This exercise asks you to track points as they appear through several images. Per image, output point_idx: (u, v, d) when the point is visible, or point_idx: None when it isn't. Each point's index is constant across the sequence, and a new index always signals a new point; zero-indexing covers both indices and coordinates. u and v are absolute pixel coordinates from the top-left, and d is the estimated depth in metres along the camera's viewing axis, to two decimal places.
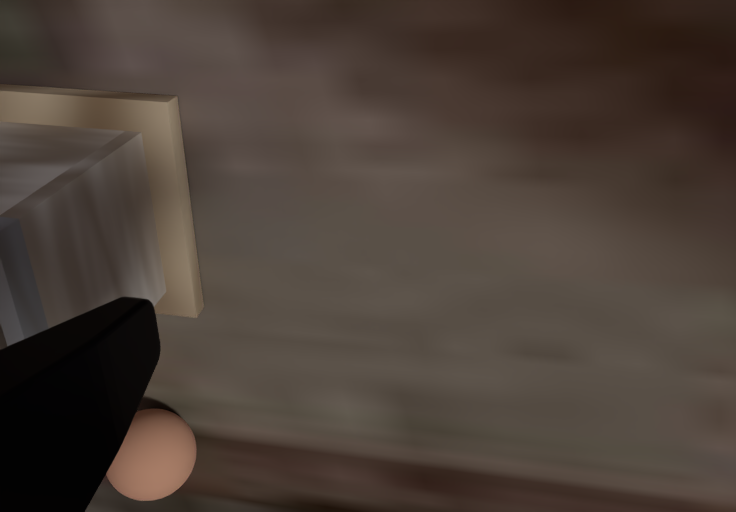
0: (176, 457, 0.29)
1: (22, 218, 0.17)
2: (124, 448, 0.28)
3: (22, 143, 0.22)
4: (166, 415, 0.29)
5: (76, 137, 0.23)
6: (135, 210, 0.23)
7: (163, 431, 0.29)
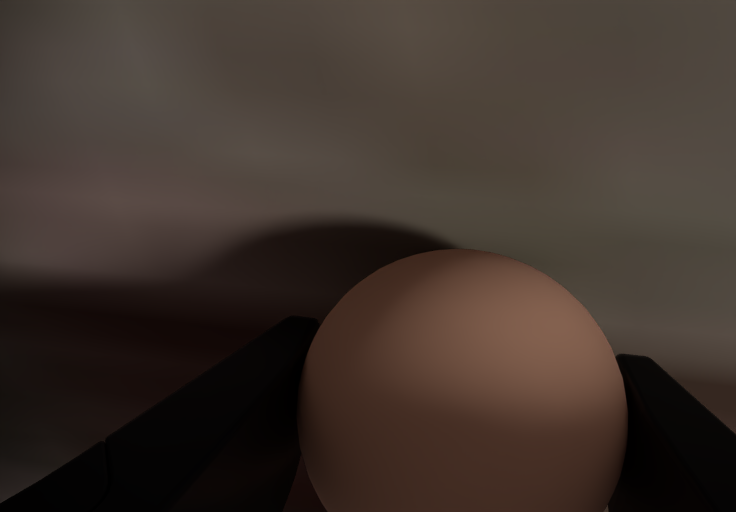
0: (616, 414, 0.07)
1: None
2: (426, 369, 0.06)
3: None
4: None
5: None
6: None
7: (558, 310, 0.07)
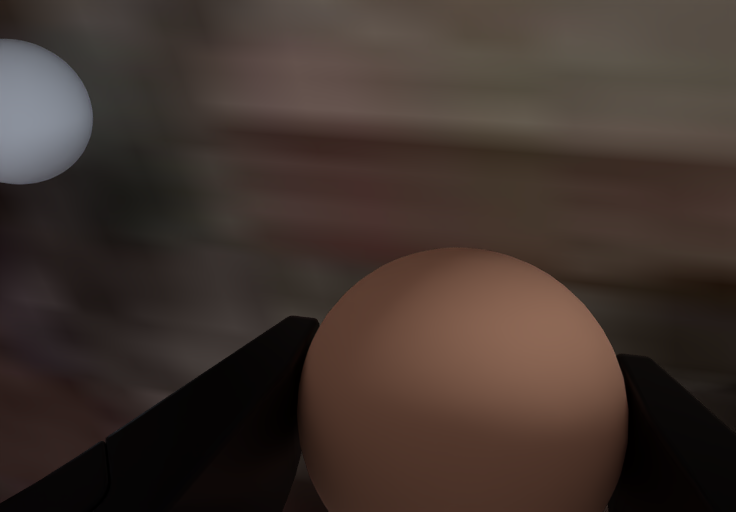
0: (617, 413, 0.07)
1: None
2: (426, 368, 0.06)
3: None
4: (525, 262, 0.08)
5: None
6: None
7: (559, 308, 0.07)
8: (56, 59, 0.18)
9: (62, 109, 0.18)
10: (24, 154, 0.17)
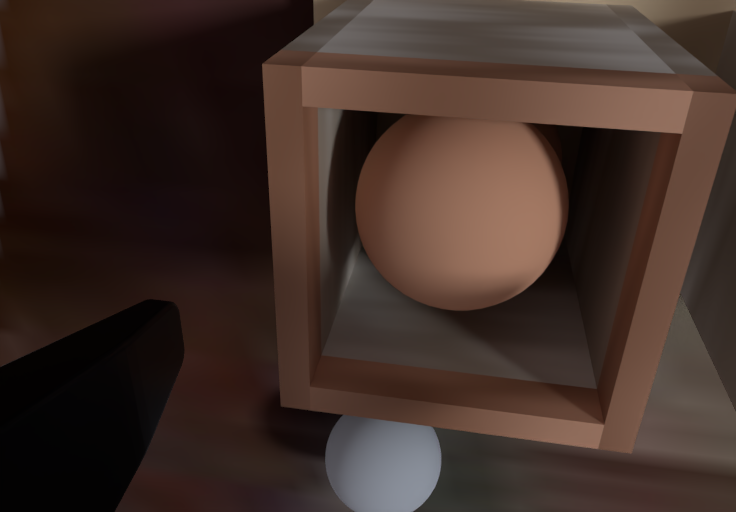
0: (552, 175, 0.11)
1: None
2: (435, 121, 0.11)
3: None
4: None
5: None
6: None
7: None
8: None
9: (436, 469, 0.22)
10: (410, 509, 0.22)
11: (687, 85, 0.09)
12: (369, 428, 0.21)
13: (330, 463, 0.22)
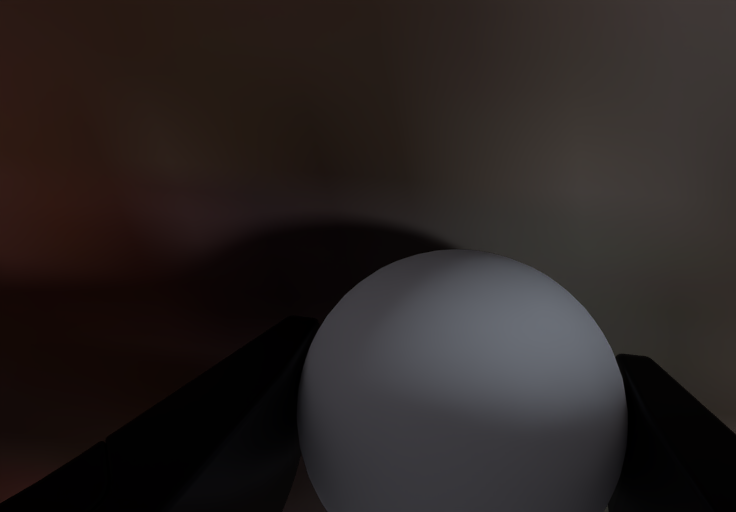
0: None
1: None
2: None
3: None
4: None
5: None
6: None
7: None
8: None
9: (625, 437, 0.07)
10: None
11: None
12: (429, 308, 0.07)
13: (307, 420, 0.07)
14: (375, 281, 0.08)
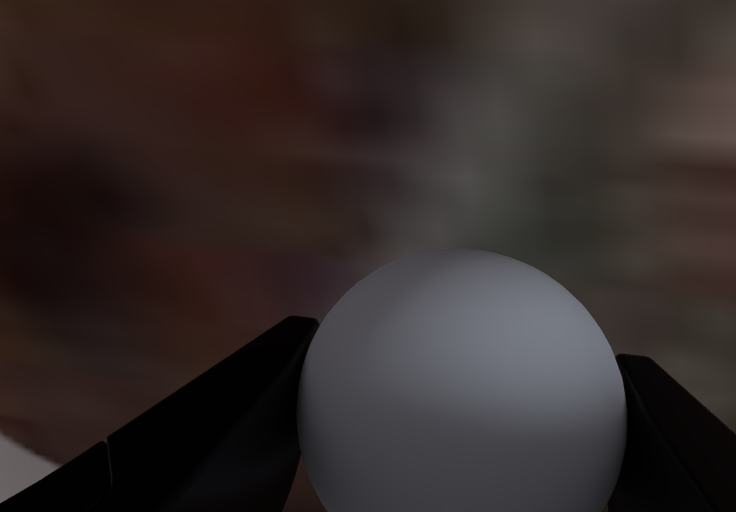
0: None
1: None
2: None
3: None
4: None
5: None
6: None
7: None
8: None
9: (624, 436, 0.07)
10: None
11: None
12: (428, 307, 0.07)
13: (308, 419, 0.07)
14: (375, 280, 0.08)
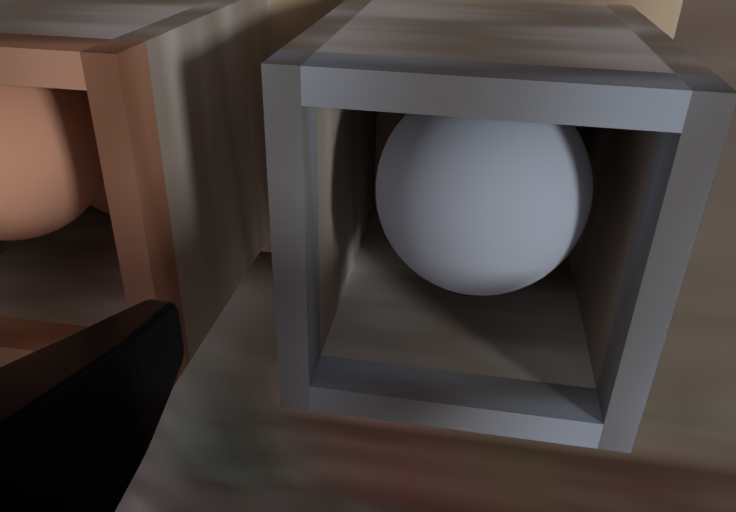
0: (39, 95, 0.13)
1: None
2: None
3: (491, 10, 0.15)
4: None
5: (553, 7, 0.15)
6: None
7: None
8: None
9: (590, 169, 0.12)
10: (559, 215, 0.11)
11: (92, 47, 0.10)
12: None
13: (396, 146, 0.11)
14: None
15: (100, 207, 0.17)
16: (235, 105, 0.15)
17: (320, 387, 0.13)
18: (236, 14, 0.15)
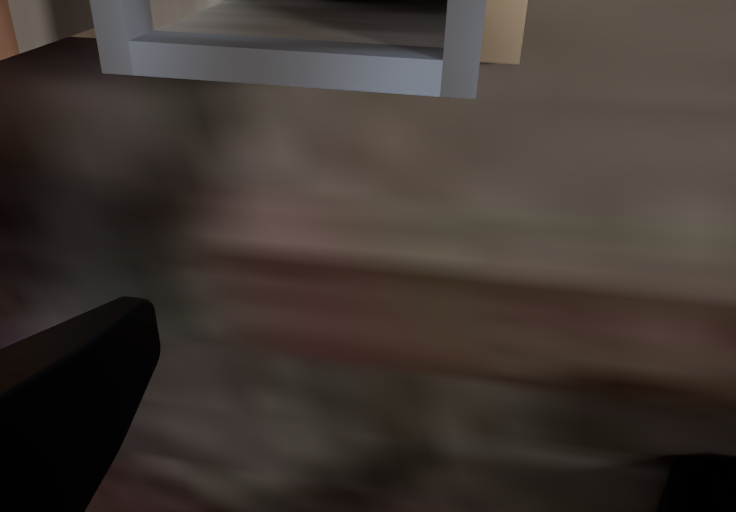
0: None
1: None
2: None
3: None
4: None
5: None
6: None
7: None
8: None
9: None
10: None
11: None
12: None
13: None
14: None
15: None
16: None
17: (140, 41, 0.11)
18: None
